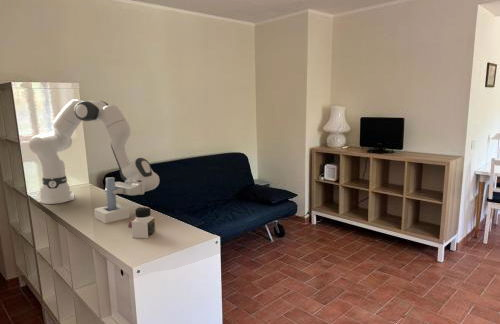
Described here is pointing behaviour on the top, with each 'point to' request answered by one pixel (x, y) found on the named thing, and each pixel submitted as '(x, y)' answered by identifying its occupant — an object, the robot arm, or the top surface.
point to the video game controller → (131, 222)
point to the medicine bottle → (143, 223)
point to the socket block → (111, 213)
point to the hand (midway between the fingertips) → (109, 191)
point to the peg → (110, 193)
